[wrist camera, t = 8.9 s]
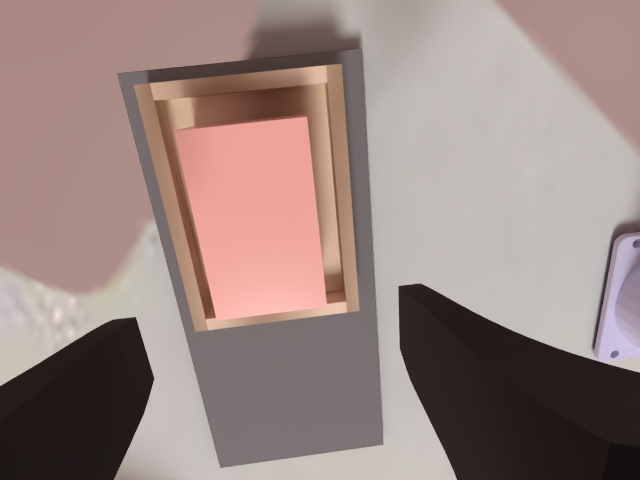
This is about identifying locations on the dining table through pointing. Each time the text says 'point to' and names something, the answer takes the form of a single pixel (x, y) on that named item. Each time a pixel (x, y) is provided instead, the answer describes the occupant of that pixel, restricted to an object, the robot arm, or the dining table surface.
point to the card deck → (255, 214)
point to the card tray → (247, 104)
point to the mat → (289, 335)
